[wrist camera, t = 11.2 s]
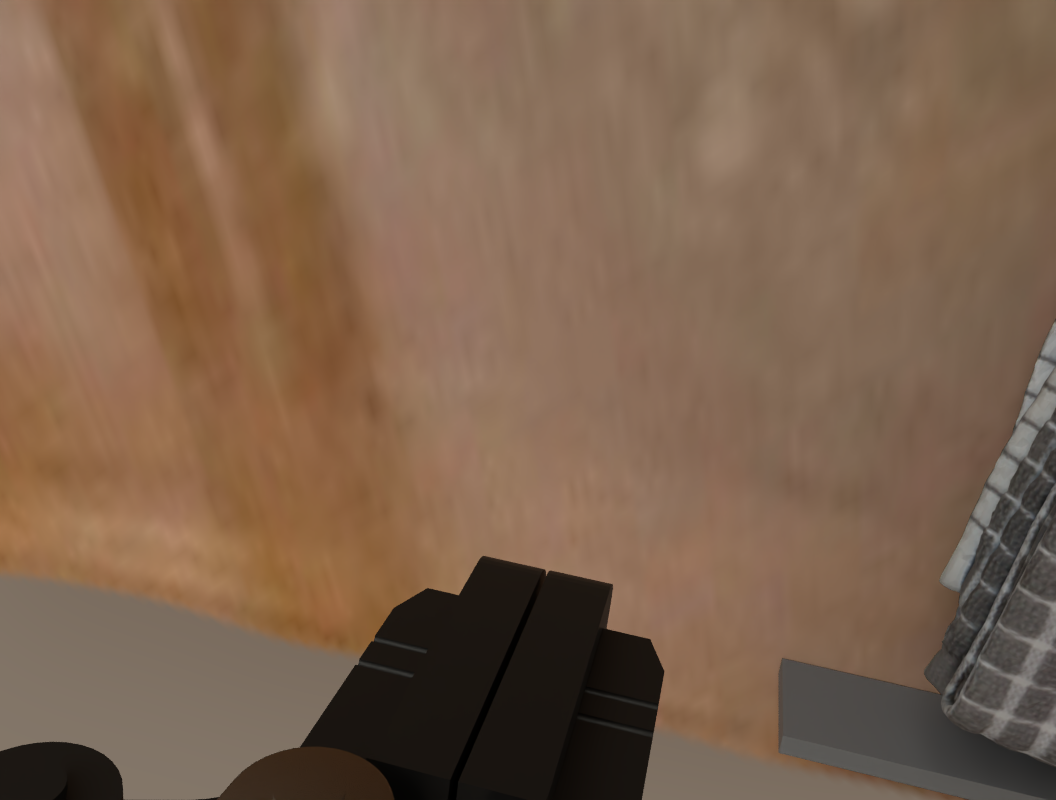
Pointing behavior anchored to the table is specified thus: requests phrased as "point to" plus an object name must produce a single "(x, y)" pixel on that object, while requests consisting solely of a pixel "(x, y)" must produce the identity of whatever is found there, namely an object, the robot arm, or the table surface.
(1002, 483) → the towel
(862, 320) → the table surface
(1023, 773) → the tray
